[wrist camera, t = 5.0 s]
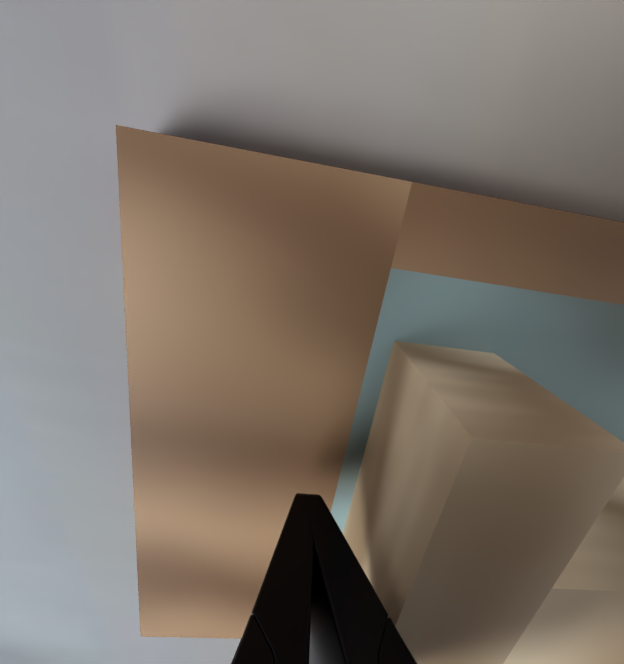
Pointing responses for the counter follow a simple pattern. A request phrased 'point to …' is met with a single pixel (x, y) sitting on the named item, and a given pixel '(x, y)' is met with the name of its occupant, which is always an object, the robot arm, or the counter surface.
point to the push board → (317, 341)
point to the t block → (490, 515)
